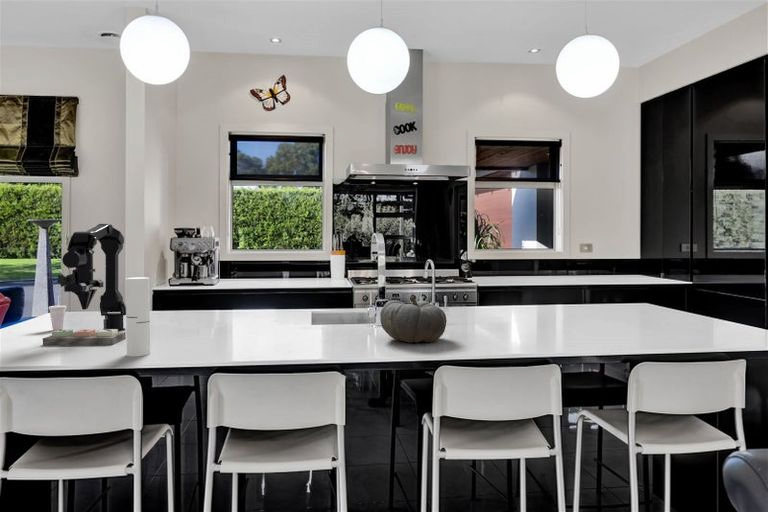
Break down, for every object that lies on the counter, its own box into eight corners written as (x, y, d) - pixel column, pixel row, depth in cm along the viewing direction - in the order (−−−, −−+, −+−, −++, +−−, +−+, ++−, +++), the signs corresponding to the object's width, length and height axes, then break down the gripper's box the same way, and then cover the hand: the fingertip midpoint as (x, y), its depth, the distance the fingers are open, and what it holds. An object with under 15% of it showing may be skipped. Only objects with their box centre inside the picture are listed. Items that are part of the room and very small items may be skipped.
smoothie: (58, 331, 233) (58, 296, 233) (45, 330, 235) (44, 296, 234) (70, 328, 240) (69, 295, 239) (57, 328, 241) (56, 294, 240)
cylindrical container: (131, 352, 192) (130, 277, 192) (153, 351, 193) (152, 277, 192) (123, 356, 185) (122, 279, 184) (146, 356, 186) (145, 278, 185)
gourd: (363, 333, 215) (372, 287, 215) (406, 335, 233) (414, 293, 234) (413, 349, 198) (423, 299, 198) (455, 351, 216) (464, 305, 216)
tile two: (52, 340, 207) (51, 331, 207) (59, 338, 212) (58, 329, 212) (66, 340, 207) (66, 331, 207) (73, 338, 212) (72, 329, 212)
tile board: (42, 345, 204) (42, 338, 203) (59, 339, 216) (59, 332, 215) (112, 344, 205) (112, 337, 205) (125, 338, 217) (125, 332, 217)
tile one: (75, 340, 208) (75, 331, 208) (81, 338, 213) (81, 329, 213) (89, 340, 208) (89, 331, 208) (95, 338, 213) (95, 328, 213)
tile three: (98, 340, 208) (97, 331, 208) (103, 337, 213) (103, 328, 213) (112, 340, 208) (112, 330, 208) (117, 337, 213) (117, 328, 213)
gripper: (73, 265, 218) (74, 306, 219) (48, 267, 200) (48, 312, 200) (103, 265, 219) (104, 306, 219) (81, 267, 200) (82, 312, 201)
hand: (85, 309), depth 210 cm, fingers closed
